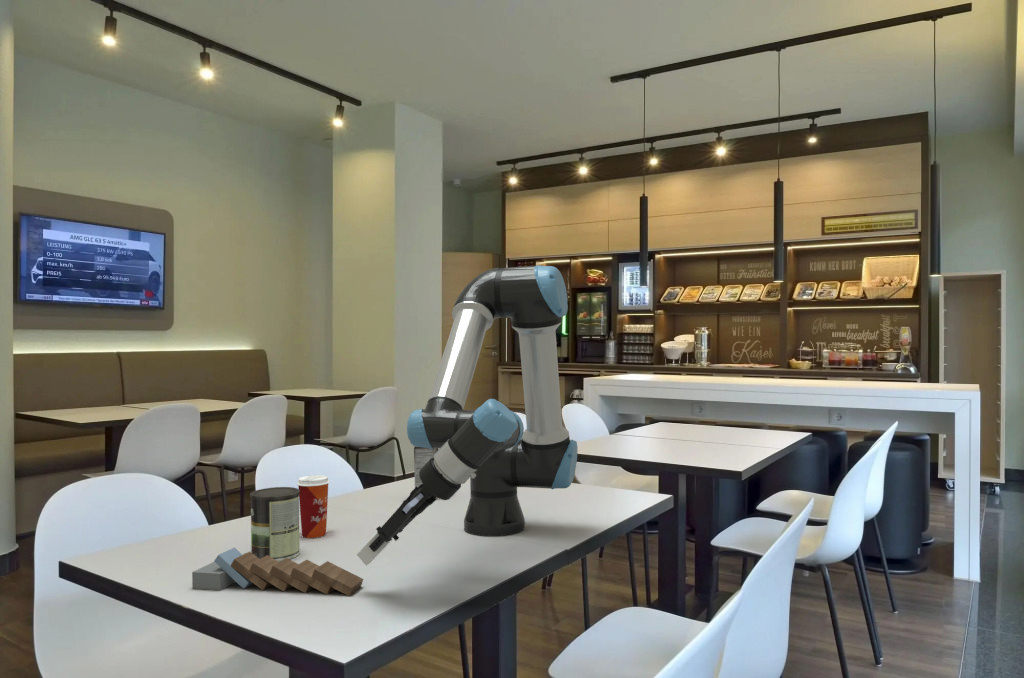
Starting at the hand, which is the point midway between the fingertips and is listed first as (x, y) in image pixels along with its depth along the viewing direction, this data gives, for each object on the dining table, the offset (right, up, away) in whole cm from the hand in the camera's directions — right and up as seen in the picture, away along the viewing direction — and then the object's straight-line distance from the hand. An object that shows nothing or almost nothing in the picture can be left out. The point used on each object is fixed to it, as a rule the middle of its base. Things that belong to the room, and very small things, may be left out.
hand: (363, 559), depth 129 cm
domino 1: (-22, -6, +5) cm, 23 cm away
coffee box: (+2, -7, +81) cm, 82 cm away
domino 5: (-6, -5, +1) cm, 8 cm away
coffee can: (-24, -7, +24) cm, 35 cm away
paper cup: (-21, -7, +40) cm, 46 cm away
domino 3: (-14, -6, +3) cm, 15 cm away
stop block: (-29, -7, +6) cm, 31 cm away
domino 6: (-1, -5, 0) cm, 6 cm away
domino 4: (-10, -6, +2) cm, 12 cm away
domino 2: (-18, -6, +4) cm, 20 cm away
